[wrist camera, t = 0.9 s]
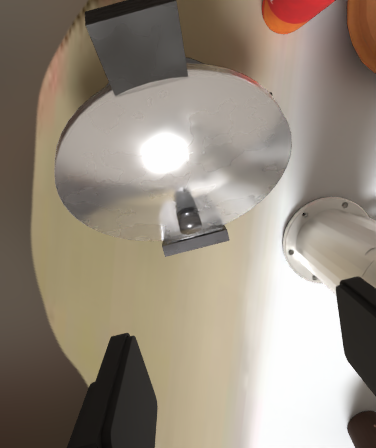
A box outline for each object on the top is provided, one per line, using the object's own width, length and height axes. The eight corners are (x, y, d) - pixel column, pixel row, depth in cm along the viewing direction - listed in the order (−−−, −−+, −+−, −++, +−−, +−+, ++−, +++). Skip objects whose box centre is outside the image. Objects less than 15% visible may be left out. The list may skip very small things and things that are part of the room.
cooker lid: (319, -55, 13) (351, -27, 12) (272, 205, 32) (282, 229, 30) (-59, 49, 14) (-75, 89, 12) (111, 246, 32) (114, 272, 31)
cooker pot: (240, 58, 37) (264, 25, 27) (267, 204, 42) (297, 223, 31) (71, 103, 37) (32, 87, 27) (117, 243, 42) (98, 273, 32)
